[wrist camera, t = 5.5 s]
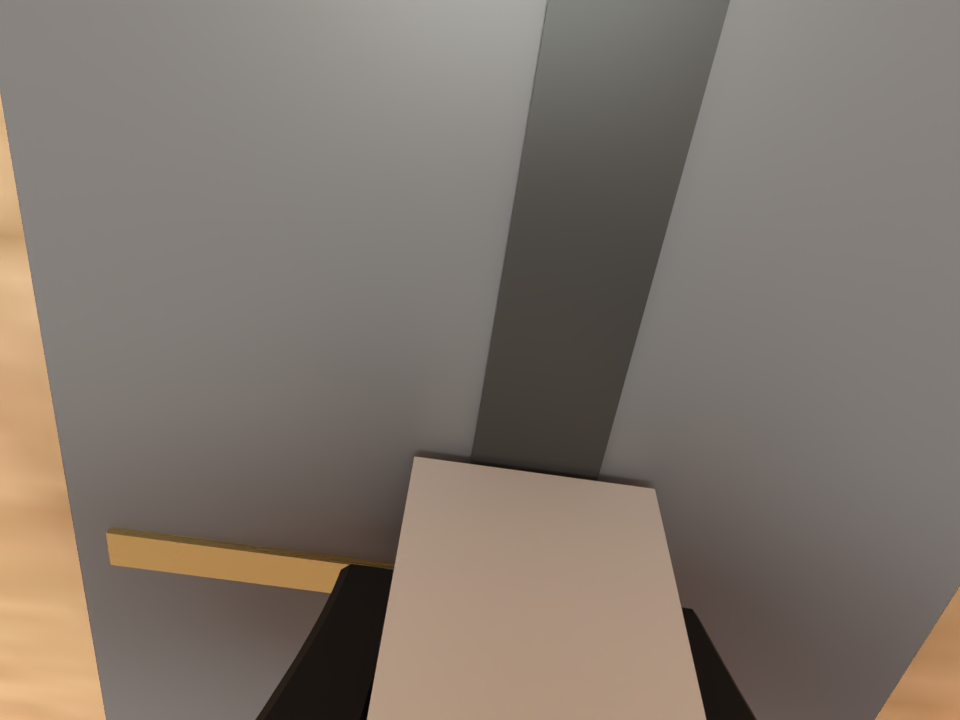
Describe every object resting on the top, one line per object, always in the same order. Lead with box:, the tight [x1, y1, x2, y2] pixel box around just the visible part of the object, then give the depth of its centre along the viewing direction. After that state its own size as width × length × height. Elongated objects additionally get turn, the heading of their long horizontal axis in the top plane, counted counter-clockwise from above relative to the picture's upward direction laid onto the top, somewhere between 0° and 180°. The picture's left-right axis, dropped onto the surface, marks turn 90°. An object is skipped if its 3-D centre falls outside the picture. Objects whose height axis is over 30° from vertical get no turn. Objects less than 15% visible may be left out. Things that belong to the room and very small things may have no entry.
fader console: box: [0, 0, 960, 720], centre depth 11 cm, size 12×26×2 cm, turn 172°
